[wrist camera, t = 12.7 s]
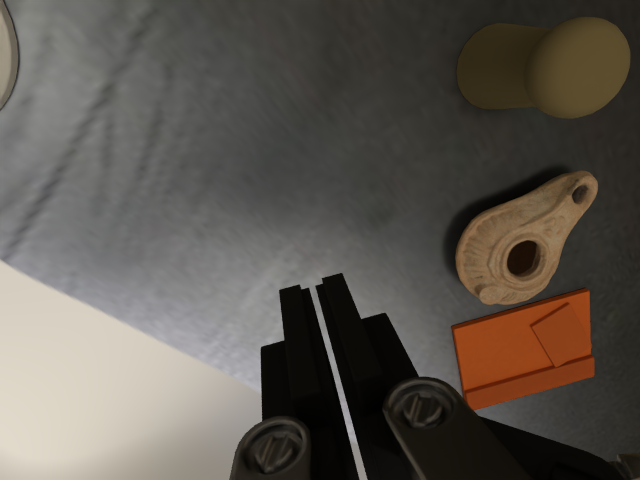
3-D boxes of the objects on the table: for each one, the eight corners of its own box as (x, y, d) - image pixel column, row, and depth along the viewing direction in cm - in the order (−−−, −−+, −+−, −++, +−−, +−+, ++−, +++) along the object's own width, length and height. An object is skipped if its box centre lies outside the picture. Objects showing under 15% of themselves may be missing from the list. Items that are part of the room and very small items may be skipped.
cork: (500, 124, 35) (596, 150, 24) (440, 82, 33) (516, 91, 23) (550, 52, 33) (676, 48, 23) (490, 4, 31) (596, -23, 21)
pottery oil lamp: (602, 195, 37) (649, 263, 33) (472, 259, 43) (498, 324, 39) (570, 136, 32) (621, 207, 27) (426, 219, 37) (450, 289, 33)
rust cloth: (464, 405, 45) (469, 413, 44) (451, 326, 41) (456, 332, 40) (587, 370, 45) (594, 377, 44) (585, 287, 41) (593, 293, 40)
